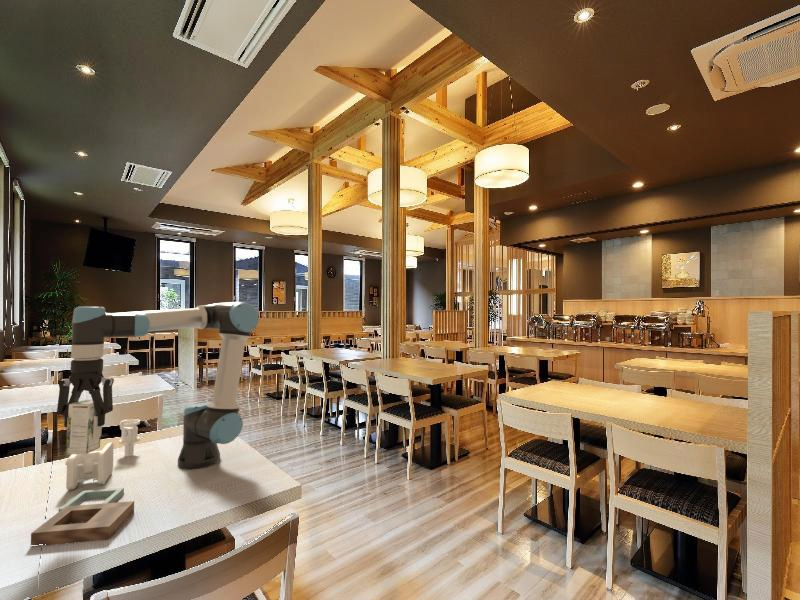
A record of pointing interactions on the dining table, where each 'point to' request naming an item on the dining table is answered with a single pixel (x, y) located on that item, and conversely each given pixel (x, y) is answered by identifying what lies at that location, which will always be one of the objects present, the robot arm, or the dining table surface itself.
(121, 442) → the white upright piece
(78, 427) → the syrup box
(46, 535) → the socket board
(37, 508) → the dining table surface
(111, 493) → the green square frame
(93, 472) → the cable organizer
